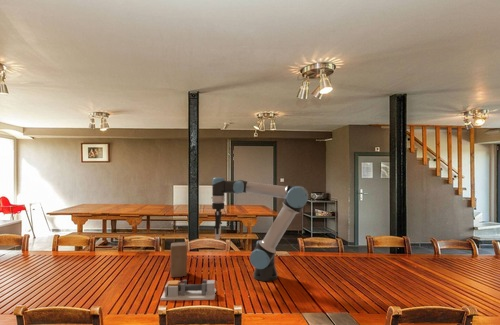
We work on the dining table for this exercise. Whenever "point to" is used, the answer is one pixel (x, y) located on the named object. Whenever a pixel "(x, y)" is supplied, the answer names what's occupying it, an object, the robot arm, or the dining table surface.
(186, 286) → the rod with end blocks
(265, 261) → the robot arm
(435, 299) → the dining table surface
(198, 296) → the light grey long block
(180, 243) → the wooden block
